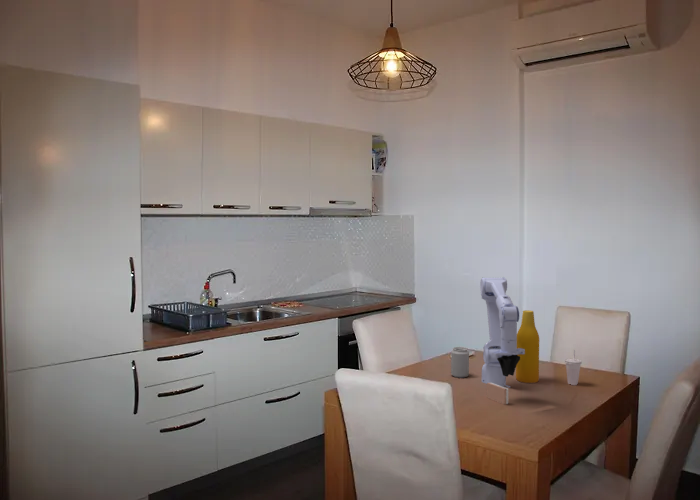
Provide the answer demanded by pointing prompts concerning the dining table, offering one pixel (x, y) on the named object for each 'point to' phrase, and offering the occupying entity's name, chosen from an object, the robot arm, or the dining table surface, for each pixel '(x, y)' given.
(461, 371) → the can
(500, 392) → the tile
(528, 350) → the beer bottle
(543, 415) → the dining table surface
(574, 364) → the smoothie
